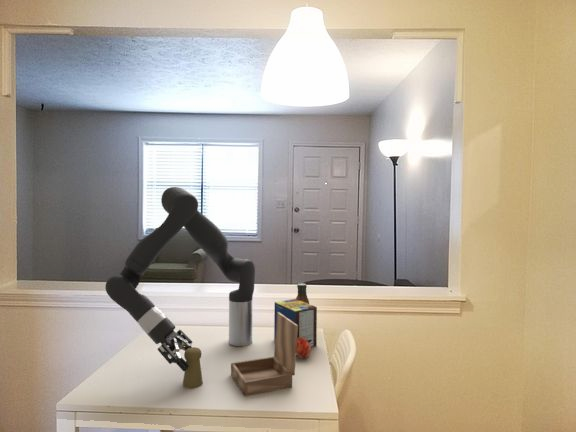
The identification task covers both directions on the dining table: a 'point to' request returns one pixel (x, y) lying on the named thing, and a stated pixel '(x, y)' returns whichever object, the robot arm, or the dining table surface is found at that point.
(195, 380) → the olive tapered rounded piece
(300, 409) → the dining table surface
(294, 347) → the box lid
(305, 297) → the sauce bottle
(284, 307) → the protein box
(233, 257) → the robot arm
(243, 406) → the dining table surface
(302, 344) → the pomegranate
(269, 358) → the walnut box
